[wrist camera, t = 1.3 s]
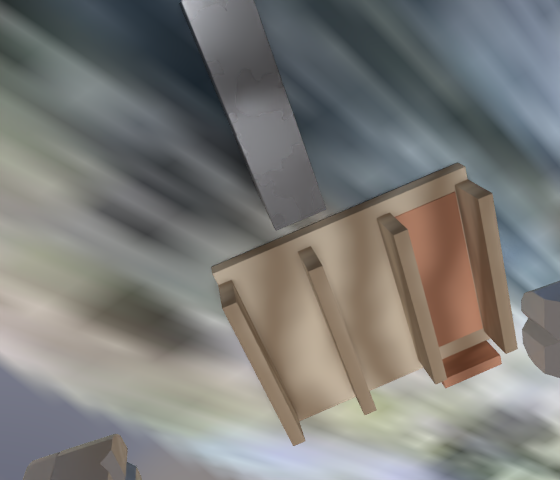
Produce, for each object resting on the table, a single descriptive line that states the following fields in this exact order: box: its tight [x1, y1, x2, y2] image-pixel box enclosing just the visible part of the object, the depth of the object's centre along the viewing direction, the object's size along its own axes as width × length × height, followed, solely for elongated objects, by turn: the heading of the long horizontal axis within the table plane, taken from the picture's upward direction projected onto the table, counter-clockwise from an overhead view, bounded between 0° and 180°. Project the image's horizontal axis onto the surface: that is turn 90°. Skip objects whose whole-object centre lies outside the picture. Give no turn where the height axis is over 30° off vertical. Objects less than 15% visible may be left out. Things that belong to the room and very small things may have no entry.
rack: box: [212, 163, 518, 446], centre depth 37 cm, size 19×17×4 cm
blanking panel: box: [179, 0, 326, 230], centre depth 27 cm, size 3×12×7 cm, turn 21°
